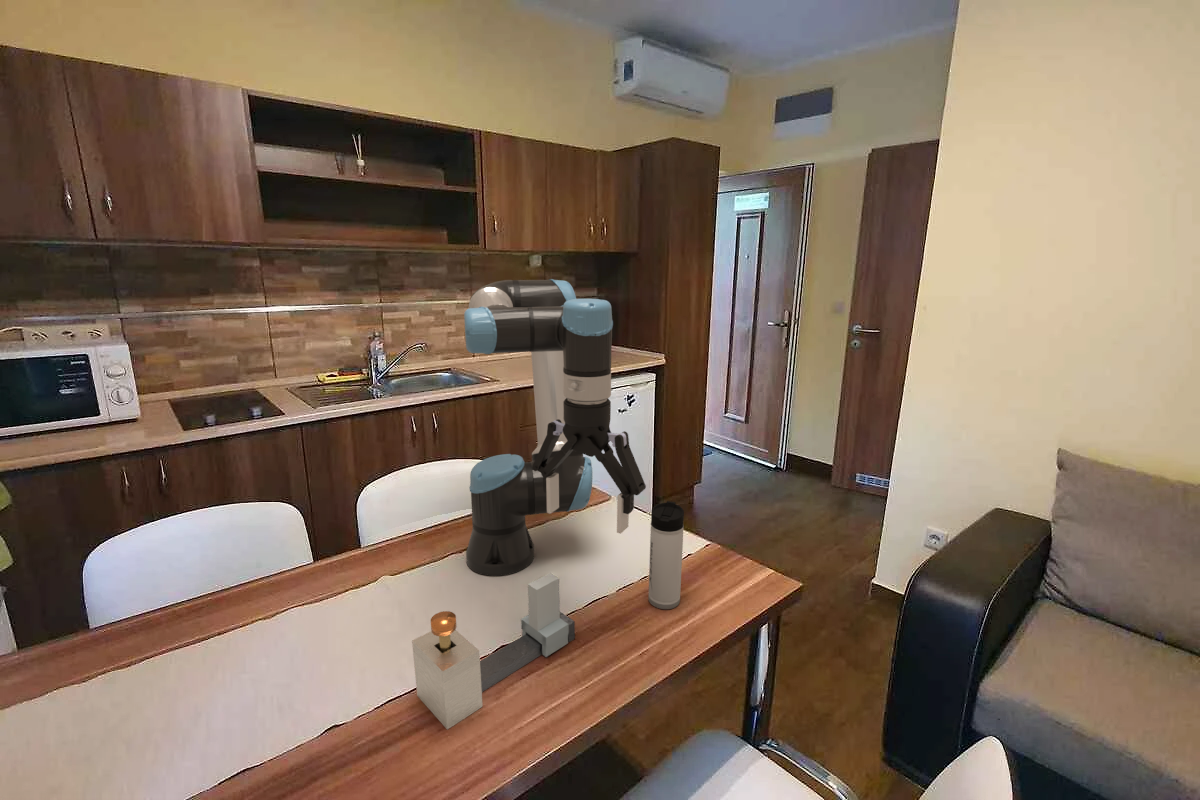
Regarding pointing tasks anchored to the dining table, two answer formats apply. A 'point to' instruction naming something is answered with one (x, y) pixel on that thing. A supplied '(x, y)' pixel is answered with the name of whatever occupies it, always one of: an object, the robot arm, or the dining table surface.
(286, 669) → the dining table surface
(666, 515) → the travel mug
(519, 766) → the dining table surface
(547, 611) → the carriage
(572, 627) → the rail
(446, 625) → the knob
